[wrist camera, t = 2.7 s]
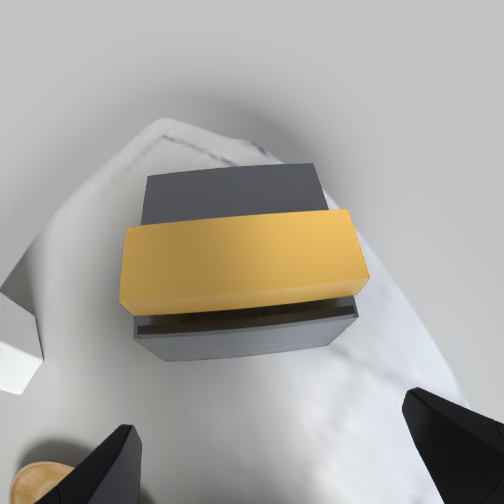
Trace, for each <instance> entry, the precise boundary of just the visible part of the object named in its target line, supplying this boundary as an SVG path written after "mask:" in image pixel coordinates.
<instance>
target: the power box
mask: <svg viewBox="0 0 504 504" xmlns="http://www.w3.org/2000/svg"><path fill="white" fill-rule="evenodd" d="M322 210H329V209H328V206H327V203H326V200H325V197H324V194H323V191H322V188H321V185H320V182H319V179H318V176H317V173H316V170H315V168H314V165H313V163H310V164H309V163H308V164H278V165H258V166H242V167H228V168H216V169H205V170H195V171H186V172H177V173H168V174H160V175H153V176H148V178H147V185H146V191H145V198H144V205H143V213H142V221H141V226H142V225H151V224H160V223H170V222H180V221H190V220H201V219H212V218H223V217H235V216H247V215H260V214H274V213H289V212H305V211H322ZM358 317H359V316H358V312H357V307H356V303H355V299H354V295H351V296H344V297H337V298H330V299H322V300H315V301H307V302H298V303H290V304H281V305H272V306H262V307H253V308H242V309H231V310H219V311H207V312H193V313H179V314H162V315H142V316H134V340H136V341H137V342H139V343H140V344H141V345H143V346H144V347H145V348H147V349H148V350H150V351H151V352H153V353H154V354H155V355H157V356H158V357H160V358H161V359H163V360H164V361H187V360H205V359H220V358H232V357H243V356H253V355H262V354H271V353H279V352H287V351H294V350H301V349H308V348H314V347H321V346H327V345H329V344H330V343H331V342H332V341H333V340H334V339H335V338H337V337H338V336H339V335H340V334H341V333H342V332H343V331H344V330H345V329H346V328H348V327H349V326H350V325H351V324H352V323H353V322H354V321H355V320H356V319H357V318H358Z"/></svg>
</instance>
